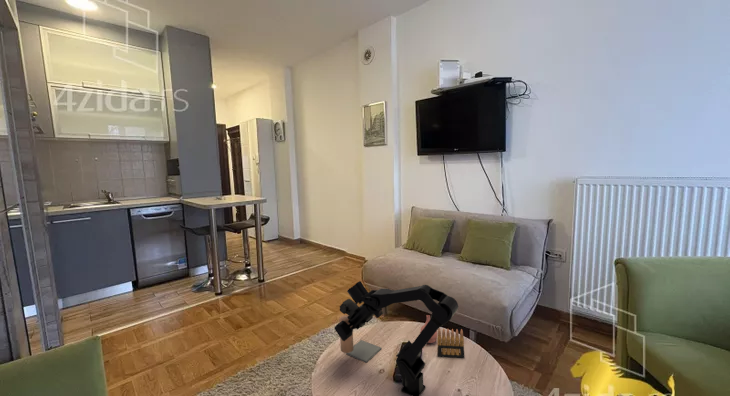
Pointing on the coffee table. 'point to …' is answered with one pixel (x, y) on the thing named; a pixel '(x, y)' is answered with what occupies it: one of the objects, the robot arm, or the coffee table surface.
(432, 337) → the pink bottle vase
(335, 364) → the coffee table surface
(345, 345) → the tan domed cylinder
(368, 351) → the slate mat
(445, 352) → the ammunition clip
